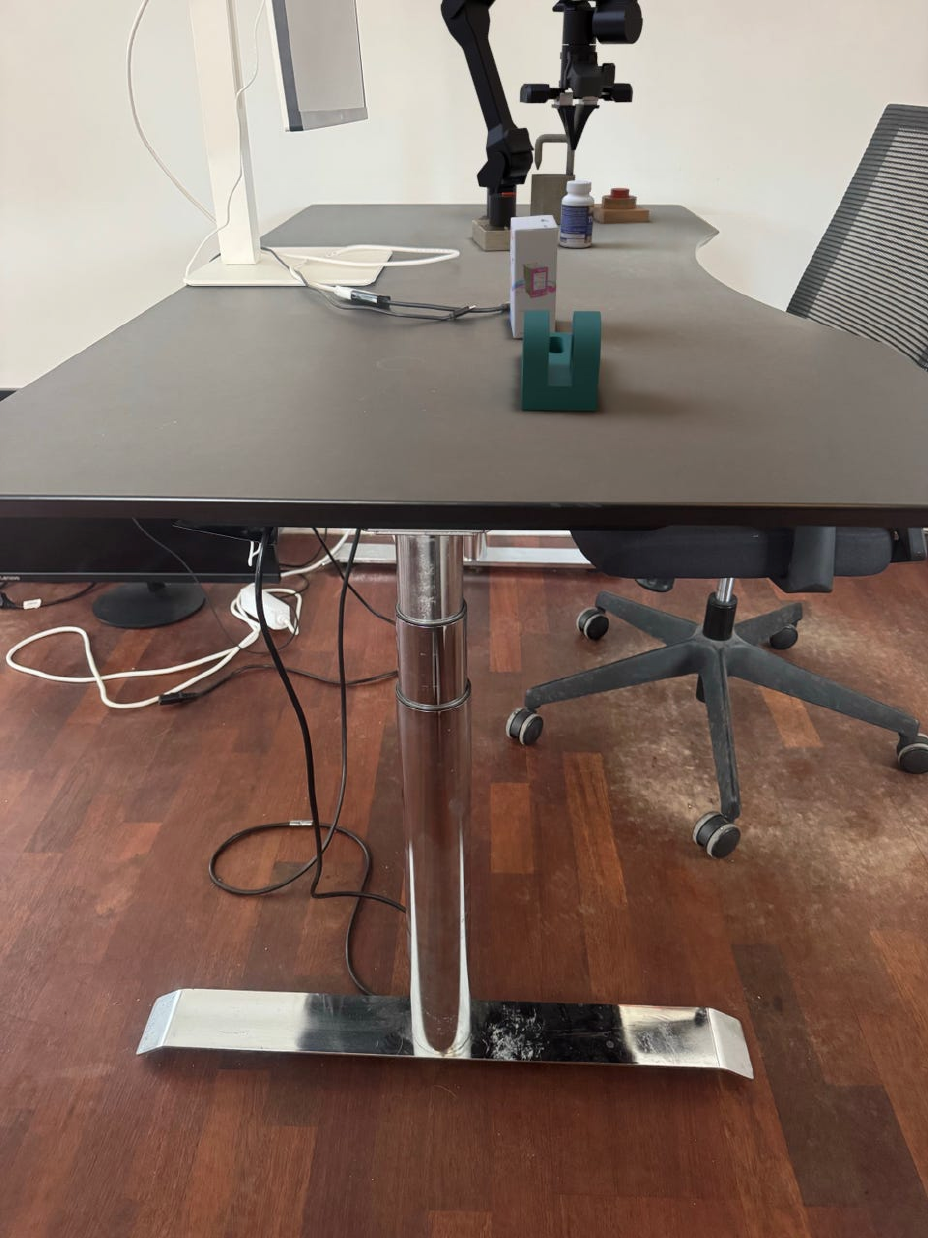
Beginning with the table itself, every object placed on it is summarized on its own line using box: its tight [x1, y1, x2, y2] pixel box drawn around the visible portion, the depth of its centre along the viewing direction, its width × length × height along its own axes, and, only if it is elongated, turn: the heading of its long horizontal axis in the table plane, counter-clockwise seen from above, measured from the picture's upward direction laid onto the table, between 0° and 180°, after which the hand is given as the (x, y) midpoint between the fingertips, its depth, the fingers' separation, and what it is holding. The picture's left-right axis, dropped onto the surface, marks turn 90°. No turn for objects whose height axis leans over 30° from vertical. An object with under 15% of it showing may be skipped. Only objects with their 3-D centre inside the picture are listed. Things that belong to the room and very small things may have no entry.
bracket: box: [520, 310, 602, 412], centre depth 85 cm, size 18×7×8 cm, turn 177°
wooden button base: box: [593, 194, 650, 225], centre depth 170 cm, size 10×9×4 cm
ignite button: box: [609, 187, 631, 198], centre depth 169 cm, size 4×4×2 cm
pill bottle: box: [559, 180, 595, 249], centre depth 145 cm, size 5×5×10 cm
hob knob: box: [489, 193, 515, 227], centre depth 146 cm, size 4×4×5 cm
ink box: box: [509, 215, 559, 339], centre depth 100 cm, size 9×5×12 cm, turn 1°
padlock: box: [529, 133, 576, 225], centre depth 164 cm, size 4×8×15 cm, turn 85°
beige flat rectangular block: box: [471, 219, 511, 252], centre depth 149 cm, size 12×10×3 cm
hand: (572, 150), depth 155 cm, fingers closed
